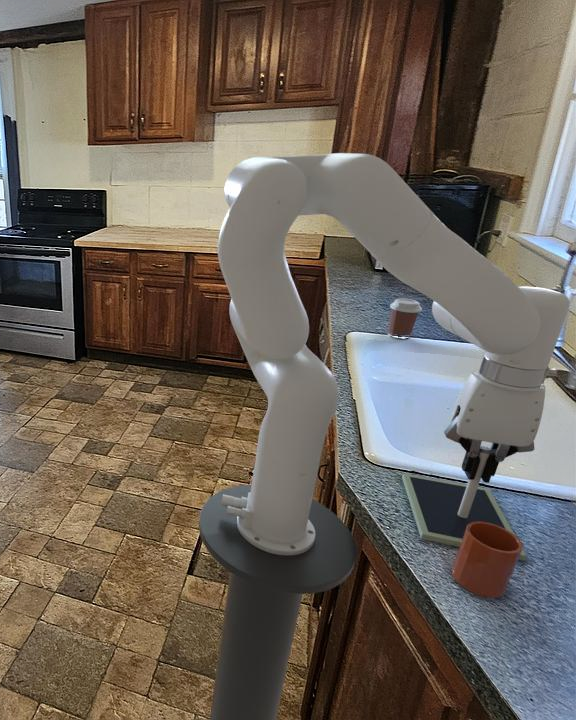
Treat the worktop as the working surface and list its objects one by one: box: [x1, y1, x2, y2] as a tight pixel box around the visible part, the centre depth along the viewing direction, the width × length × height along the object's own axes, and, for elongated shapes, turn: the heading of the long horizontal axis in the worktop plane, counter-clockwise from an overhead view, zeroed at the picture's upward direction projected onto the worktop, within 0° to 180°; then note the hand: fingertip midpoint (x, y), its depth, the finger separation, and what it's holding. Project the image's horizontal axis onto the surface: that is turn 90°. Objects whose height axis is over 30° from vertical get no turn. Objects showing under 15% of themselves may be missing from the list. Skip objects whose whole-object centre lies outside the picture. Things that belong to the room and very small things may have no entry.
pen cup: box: [451, 521, 524, 599], centre depth 75 cm, size 6×6×8 cm
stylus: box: [458, 445, 490, 518], centre depth 85 cm, size 1×1×13 cm
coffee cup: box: [387, 298, 423, 337], centre depth 172 cm, size 9×9×12 cm
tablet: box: [401, 472, 528, 562], centre depth 90 cm, size 14×18×1 cm
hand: (475, 475), depth 85 cm, fingers closed on stylus, 1 cm apart
